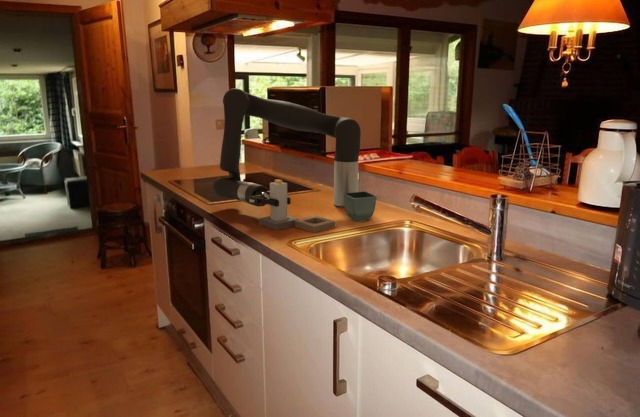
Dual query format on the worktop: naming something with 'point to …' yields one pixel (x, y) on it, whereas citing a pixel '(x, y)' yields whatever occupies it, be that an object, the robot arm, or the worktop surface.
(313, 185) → the worktop surface
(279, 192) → the plug
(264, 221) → the socket
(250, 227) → the worktop surface
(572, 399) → the worktop surface
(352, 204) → the flower pot
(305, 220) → the socket
